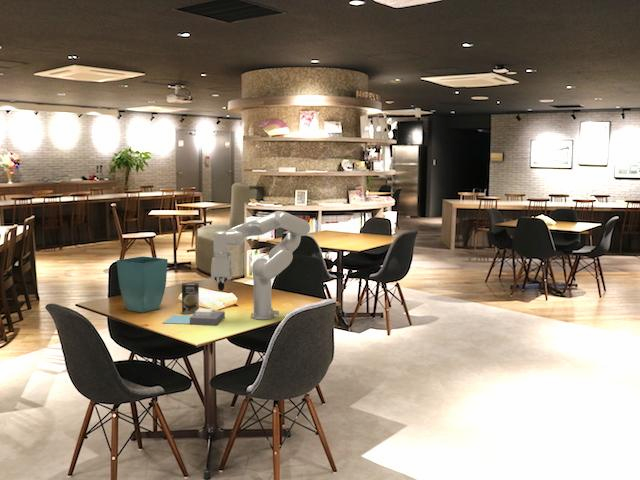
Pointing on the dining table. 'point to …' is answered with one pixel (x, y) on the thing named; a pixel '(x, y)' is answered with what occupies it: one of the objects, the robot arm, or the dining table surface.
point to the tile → (204, 312)
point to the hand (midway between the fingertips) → (221, 290)
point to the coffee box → (190, 298)
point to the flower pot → (142, 282)
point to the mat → (178, 319)
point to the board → (208, 319)
